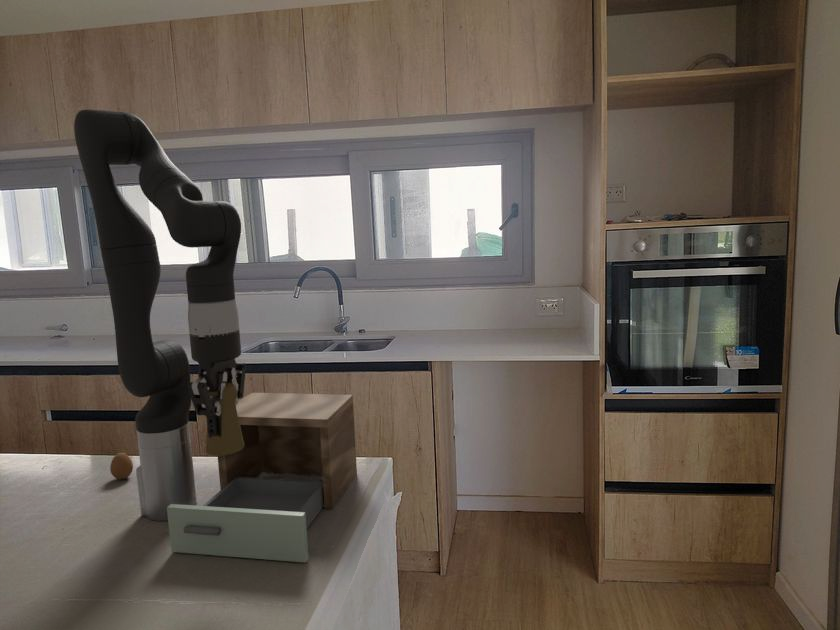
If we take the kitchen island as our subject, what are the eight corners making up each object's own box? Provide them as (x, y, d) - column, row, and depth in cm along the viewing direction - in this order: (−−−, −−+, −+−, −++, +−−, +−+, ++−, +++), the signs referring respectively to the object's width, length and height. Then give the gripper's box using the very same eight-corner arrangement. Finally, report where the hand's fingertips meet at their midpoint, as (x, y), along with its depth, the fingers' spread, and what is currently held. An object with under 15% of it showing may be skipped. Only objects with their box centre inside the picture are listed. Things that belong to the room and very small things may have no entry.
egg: (128, 482, 128) (124, 456, 127) (107, 483, 128) (104, 457, 127) (137, 474, 132) (135, 448, 131) (118, 474, 132) (115, 449, 131)
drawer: (166, 556, 97) (161, 511, 96) (233, 494, 119) (230, 457, 118) (302, 567, 93) (299, 520, 92) (346, 501, 115) (344, 462, 114)
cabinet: (221, 502, 117) (213, 415, 114) (258, 469, 132) (252, 392, 129) (332, 509, 112) (327, 419, 109) (356, 474, 128) (352, 394, 125)
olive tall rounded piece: (232, 456, 92) (226, 388, 90) (198, 454, 93) (191, 387, 92) (251, 442, 98) (246, 378, 96) (218, 440, 99) (213, 377, 98)
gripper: (217, 321, 100) (225, 417, 103) (165, 337, 87) (176, 447, 89) (257, 321, 99) (264, 419, 101) (211, 337, 85) (221, 450, 88)
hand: (223, 432), depth 95 cm, fingers closed on olive tall rounded piece, 4 cm apart
